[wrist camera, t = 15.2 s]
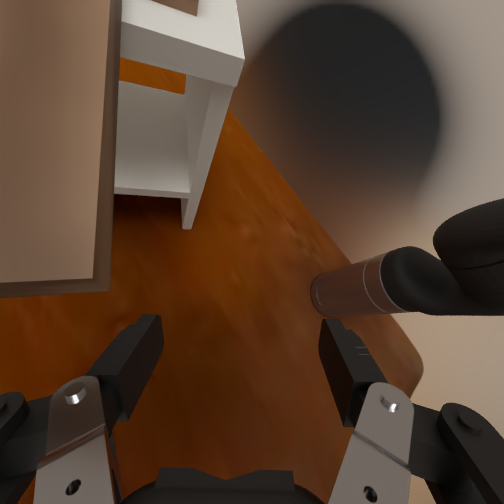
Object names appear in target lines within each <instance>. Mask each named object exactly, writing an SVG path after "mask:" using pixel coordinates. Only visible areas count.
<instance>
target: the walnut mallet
mask: <svg viewBox="0 0 504 504" xmlns="http://www.w3.org/2000/svg"><path fill="white" fill-rule="evenodd" d="M151 1H154V2H157V3H159V4H162V5H165V6H168V7H171V8H174V9H176V10H179V11H182V12H185V13H188V14H190V15H193V16H196V17H197V11H198V2H199V0H151ZM121 19H122V0H0V298H11V297H26V296H41V295H56V294H71V293H86V292H101V291H110V275H111V252H112V229H113V205H114V182H115V159H116V135H117V112H118V89H119V65H120V42H121Z"/></svg>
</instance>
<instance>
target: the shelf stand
mask: <svg viewBox="0 0 504 504" xmlns="http://www.w3.org/2000/svg"><path fill="white" fill-rule="evenodd" d="M120 57H122V58H126V59H130V60H134V61H138V62H142V63H145V64H149V65H153V66H157V67H161V68H165V69H169V70H172V71H176V72H180V73H184V74H187V75H186V85H185V95H181V94H177V93H173V92H168V91H164V90H159V89H155V88H151V87H146V86H142V85H137V84H133V83H129V82H124V81H120V80H119V89H118V112H117V135H116V159H115V182H114V194H127V195H142V196H156V197H171V198H181V212H182V229H191V228H192V225H193V222H194V218H195V215H196V212H197V208H198V205H199V202H200V198H201V195H202V192H203V188H204V185H205V182H206V178H207V175H208V172H209V168H210V165H211V162H212V158H213V155H214V152H215V149H216V145H217V142H218V139H219V135H220V132H221V129H222V125H223V122H224V119H225V115H226V112H227V109H228V105H229V102H230V99H231V95H232V92H233V88H234V87H236V86H237V83H238V80H239V77H240V73H241V70H242V67H243V64H244V60H245V57H244V51H243V45H242V38H241V32H240V25H239V18H238V12H237V5H236V0H199V2H198V11H197V17H196V16H193V15H190V14H188V13H185V12H182V11H179V10H176V9H174V8H171V7H168V6H165V5H162V4H159V3H157V2H154V1H151V0H122V19H121V42H120Z"/></svg>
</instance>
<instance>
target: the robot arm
mask: <svg viewBox="0 0 504 504" xmlns="http://www.w3.org/2000/svg"><path fill="white" fill-rule="evenodd" d="M433 245H434V248H435V250H436V252H437V254H438V256H439V258H440V259H441V260H439V259H437V258H436V257H434V256H433V255H431V254H430V253H428V252H426V251H424V250H422V249H420V248H417V247H412V246H407V247H402V248H398V249H396V250H393V251H390V252H387V253H384V254H381V255H378V256H375V257H372V258H369V259H366V260H363V261H360V262H357V263H354V264H351V265H348V266H345V267H342V268H339V269H336V270H333V271H330V272H327V273H325V274H322V275H319V276H318V277H316V279H315V280H314V281H313V283H312V287H311V298H312V301H313V303H314V306H315V307H316V308H317V310H318V311H319V312H320V313H321V314H323V315H324V316H327V317H346V316H362V315H377V314H392V313H405V312H421V313H424V314H428V315H437V316H438V315H440V316H442V315H469V316H471V315H472V316H475V315H476V316H504V198H503V199H500V200H496V201H492V202H489V203H485V204H482V205H479V206H476V207H473V208H470V209H468V210H465V211H463V212H461V213H459V214H456V215H455V216H453V217H451V218H449V219H448V220H446V221H445V222H444V223H442V224H441V225H440V226H439V227H438V229H437V230H436V231H435V234H434V236H433ZM163 346H164V337H163V330H162V323H161V317H160V315H151V314H143V315H142V316H141V317H140V318H139V320H138V321H137V322H136V324H135V325H129V326H128V327H126V328H125V329H124V330H122V331H121V332H120V333H119V334H118V335H117V336H116V338H115V339H114V340H113V342H112V343H111V344H110V345H109V346H108V349H106V350H105V351H104V352H103V354H102V355H101V356H100V357H99V359H98V360H97V361H96V362H95V363H94V365H93V366H92V367H91V368H90V370H89V371H88V372H87V373H86V375H85V376H82V377H78V378H76V379H73V380H71V381H69V382H67V383H66V384H64V385H63V386H62V387H60V388H59V389H58V390H57V391H56V392H55V393H54V395H52V396H48V397H44V398H40V399H36V400H32V401H28V402H26V400H25V398H24V396H23V394H22V393H20V392H9V393H5V394H1V395H0V504H17V503H18V501H19V500H20V498H21V497H22V495H23V494H24V492H25V490H26V489H27V487H28V486H29V484H30V483H31V481H32V480H33V478H34V477H35V475H36V483H35V493H34V503H33V504H324V502H322V501H321V500H320V499H319V498H318V497H317V496H316V495H314V494H313V493H311V492H310V491H309V490H307V489H305V488H303V487H301V486H300V485H297V484H294V479H293V471H280V470H258V471H255V472H252V473H249V474H245V475H242V476H239V477H236V478H232V479H229V480H222V479H220V478H217V477H214V476H212V475H209V474H206V473H204V472H201V471H198V470H196V469H193V468H160V471H159V474H158V477H157V480H156V481H154V482H151V483H149V484H147V485H145V486H143V487H141V488H139V489H138V490H136V491H134V492H133V493H131V494H130V495H129V496H127V497H126V498H125V495H124V491H123V487H122V482H121V477H120V471H119V465H118V459H117V453H116V447H115V442H114V436H113V431H112V429H113V427H114V425H115V423H116V422H117V420H118V421H128V420H129V418H130V416H131V414H132V412H133V410H134V408H135V406H136V404H137V402H138V400H139V398H140V396H141V394H142V392H143V390H144V388H145V386H146V384H147V382H148V380H149V378H150V376H151V374H152V372H153V370H154V368H155V366H156V364H157V362H158V360H159V358H160V356H161V353H162V351H163ZM319 356H320V359H321V362H322V365H323V368H324V371H325V374H326V377H327V380H328V382H329V385H330V388H331V391H332V394H333V397H334V400H335V403H336V406H337V408H338V411H339V414H340V417H341V420H342V423H343V426H344V427H354V429H355V430H354V431H353V433H352V436H351V439H350V442H349V445H348V448H347V451H346V454H345V456H344V459H343V462H342V465H341V468H340V471H339V474H338V477H337V480H336V483H335V486H334V489H333V492H332V494H331V497H330V500H329V503H328V504H408V499H409V489H410V479H411V474H413V475H415V476H418V477H420V478H423V479H424V480H425V481H426V484H427V485H428V488H429V490H430V492H431V494H432V496H433V498H434V500H435V502H436V504H504V439H503V438H502V436H500V434H499V433H498V432H497V431H496V430H495V428H494V427H493V426H492V425H491V424H490V423H489V422H488V421H487V420H486V419H485V418H484V417H482V416H481V415H480V414H478V413H477V412H475V411H474V410H472V409H470V408H468V407H466V406H463V405H461V404H457V403H446V404H444V405H443V406H442V409H441V411H440V412H439V411H436V410H433V409H430V408H426V407H423V406H420V405H416V404H414V403H412V402H411V401H410V399H409V398H408V397H407V396H406V395H405V394H404V393H403V392H402V391H401V390H399V389H398V388H396V387H394V386H392V385H390V384H388V382H387V380H386V379H385V377H384V375H383V374H382V372H381V371H380V369H379V367H378V366H377V364H376V363H375V361H374V359H373V358H372V356H370V353H369V351H368V350H367V348H366V347H365V345H364V343H363V342H362V340H361V338H360V337H359V336H357V335H356V334H355V333H354V332H353V331H352V330H345V328H344V326H343V324H342V323H341V321H340V320H339V319H323V320H322V324H321V331H320V338H319Z"/></svg>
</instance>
